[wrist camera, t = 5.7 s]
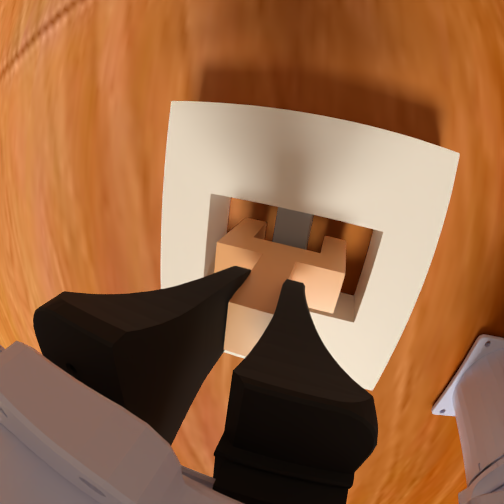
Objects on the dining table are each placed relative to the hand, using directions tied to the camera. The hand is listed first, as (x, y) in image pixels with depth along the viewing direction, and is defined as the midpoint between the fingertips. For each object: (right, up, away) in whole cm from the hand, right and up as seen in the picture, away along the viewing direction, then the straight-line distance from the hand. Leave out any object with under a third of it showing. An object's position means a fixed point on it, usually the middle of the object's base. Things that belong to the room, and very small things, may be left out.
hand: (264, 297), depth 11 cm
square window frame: (+2, +2, +6) cm, 7 cm away
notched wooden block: (+2, +2, +5) cm, 6 cm away
